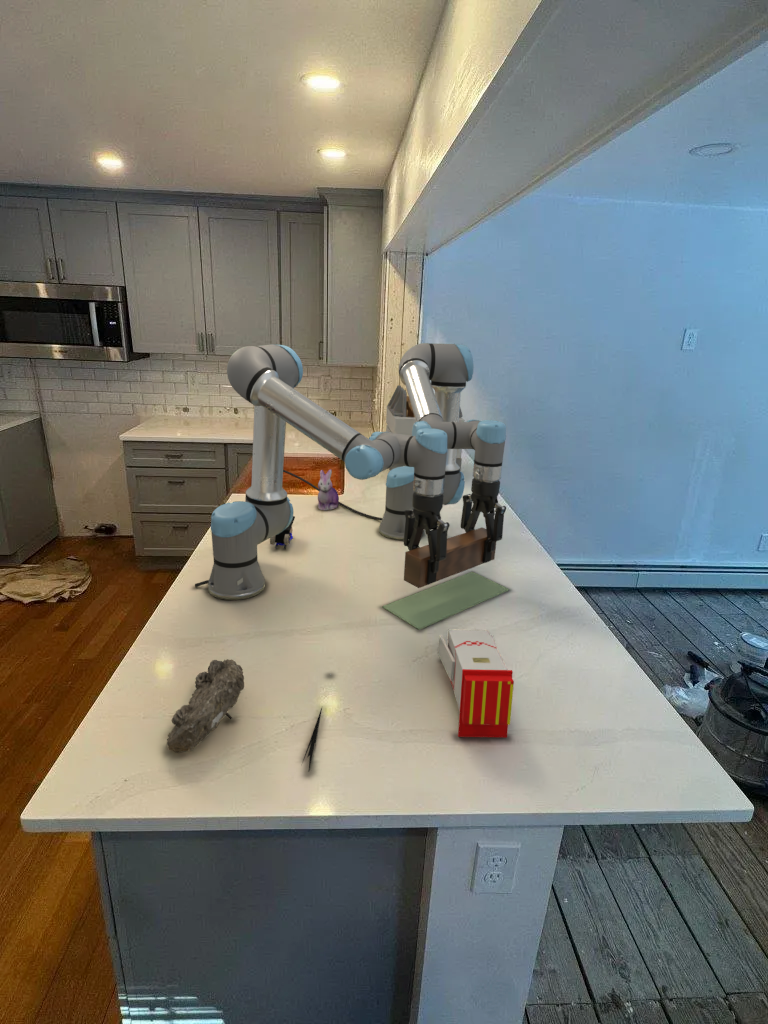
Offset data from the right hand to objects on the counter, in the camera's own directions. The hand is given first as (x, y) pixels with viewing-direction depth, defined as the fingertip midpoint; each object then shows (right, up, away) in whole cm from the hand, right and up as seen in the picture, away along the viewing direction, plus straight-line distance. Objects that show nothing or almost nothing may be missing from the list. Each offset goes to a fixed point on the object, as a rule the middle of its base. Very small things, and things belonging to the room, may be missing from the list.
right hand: (478, 557), depth 160 cm
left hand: (-17, -4, -14) cm, 22 cm away
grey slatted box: (-9, +32, +115) cm, 119 cm away
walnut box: (-8, -3, -7) cm, 11 cm away
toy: (-9, -25, -42) cm, 49 cm away
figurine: (-49, +15, +63) cm, 81 cm away
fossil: (-59, -26, -52) cm, 83 cm away
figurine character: (-60, +2, +27) cm, 66 cm away
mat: (-9, -11, -4) cm, 15 cm away
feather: (-39, -27, -52) cm, 70 cm away
